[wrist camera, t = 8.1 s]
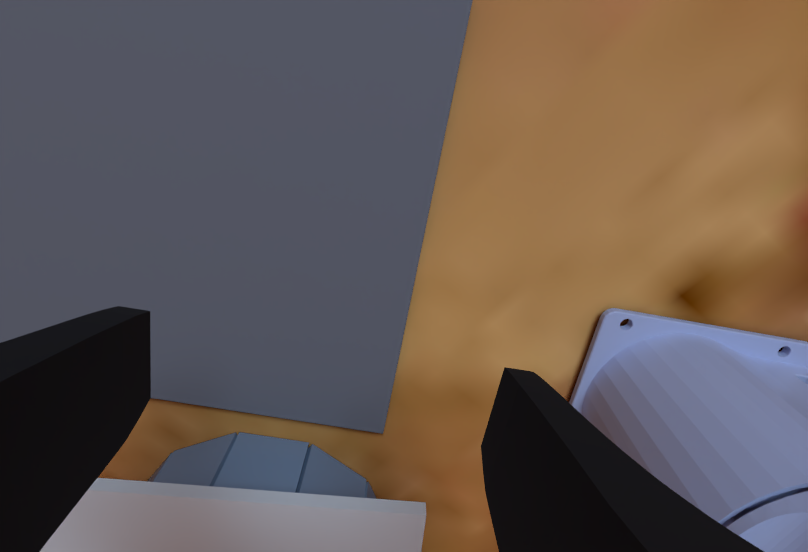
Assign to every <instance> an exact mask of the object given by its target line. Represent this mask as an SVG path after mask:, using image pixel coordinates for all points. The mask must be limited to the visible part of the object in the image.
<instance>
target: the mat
mask: <svg viewBox="0 0 808 552" xmlns="http://www.w3.org/2000/svg"><path fill="white" fill-rule="evenodd" d="M471 5H472V0H0V343H1V342H4V341H8V340H11V339H14V338H17V337H20V336H23V335H26V334H29V333H32V332H35V331H38V330H41V329H44V328H47V327H50V326H53V325H56V324H59V323H62V322H65V321H68V320H71V319H74V318H77V317H80V316H84V315H87V314H90V313H93V312H97V311H100V310H104V309H108V308H112V307H117V306H122V307H128V308H134V309H140V310H147V311H150V355H151V398H155V399H161V400H168V401H174V402H181V403H187V404H194V405H200V406H207V407H213V408H220V409H226V410H233V411H239V412H246V413H252V414H259V415H265V416H272V417H278V418H285V419H291V420H298V421H304V422H311V423H317V424H324V425H330V426H337V427H343V428H350V429H356V430H363V431H369V432H376V433H382V434H383V431H384V427H385V422H386V417H387V412H388V407H389V402H390V397H391V393H392V388H393V383H394V378H395V373H396V368H397V363H398V359H399V354H400V349H401V344H402V339H403V334H404V330H405V325H406V320H407V315H408V310H409V305H410V300H411V296H412V291H413V286H414V281H415V276H416V271H417V267H418V262H419V257H420V252H421V247H422V242H423V237H424V233H425V228H426V223H427V218H428V213H429V208H430V203H431V199H432V194H433V189H434V184H435V179H436V174H437V170H438V165H439V160H440V155H441V150H442V145H443V140H444V136H445V131H446V126H447V121H448V116H449V111H450V106H451V102H452V97H453V92H454V87H455V82H456V77H457V73H458V68H459V63H460V58H461V53H462V48H463V43H464V39H465V34H466V29H467V24H468V19H469V14H470V10H471Z"/></svg>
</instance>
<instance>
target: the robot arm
mask: <svg viewBox="0 0 808 552" xmlns="http://www.w3.org/2000/svg"><path fill="white" fill-rule="evenodd" d="M624 319H629V321H628V323H627V324H626V325H624V326H620V323H621V322H622V321H623V320H624ZM782 347H784V348H783V349H782V351H780V352H778V351H779V349H780V348H782ZM150 398H151V355H150V311H147V310H140V309H134V308H128V307H122V306H117V307H112V308H108V309H104V310H100V311H97V312H93V313H90V314H87V315H84V316H80V317H77V318H74V319H71V320H68V321H65V322H62V323H59V324H56V325H53V326H50V327H47V328H44V329H41V330H38V331H35V332H32V333H29V334H26V335H23V336H20V337H17V338H14V339H11V340H8V341H4V342H1V343H0V552H40V551H41V549H42V548H43V546H44V545H45V544H46V543H47V541H48V540H49V539H50V537H51V536H52V535H53V534H54V532H55V531H56V530H57V529H58V527H59V526H60V525H61V523H62V522H63V521H64V520H65V518H66V517H67V516H68V515H69V513H70V512H71V511H72V509H73V508H74V507H75V506H76V504H77V503H78V502H79V501H80V499H81V498H82V497H83V495H84V494H85V493H86V492H87V490H88V489H89V488H90V486H91V485H92V484H93V483H94V481H95V480H96V479H97V478H98V476H99V475H100V474H101V472H102V471H103V470H104V469H105V467H106V466H107V465H108V463H109V462H110V461H111V459H112V458H113V457H114V456H115V454H116V453H117V452H118V450H119V449H120V448H121V446H122V445H123V444H124V442H125V441H126V439H127V438H128V436H129V434H130V433H131V431H132V429H133V428H134V426H135V424H136V423H137V421H138V419H139V418H140V416H141V414H142V412H143V410H144V409H145V407H146V405H147V403H148V401H149V400H150ZM481 451H482V463H483V474H484V483H485V492H486V496H487V501H488V506H489V510H490V514H491V519H492V523H493V528H494V532H495V536H496V540H497V545H498V549H499V552H808V342H806V341H801V340H795V339H789V338H783V337H778V336H772V335H766V334H760V333H755V332H749V331H743V330H737V329H732V328H726V327H720V326H714V325H709V324H703V323H697V322H692V321H686V320H680V319H674V318H669V317H663V316H657V315H651V314H646V313H640V312H634V311H628V310H623V309H617V308H610V309H608V310H606V311H604V312H603V313H602V315H601V316H600V319H599V322H598V324H597V327H596V330H595V333H594V335H593V338H592V341H591V344H590V346H589V349H588V352H587V355H586V357H585V360H584V363H583V366H582V368H581V371H580V374H579V377H578V379H577V382H576V385H575V388H574V390H573V393H572V396H571V399H570V401H569V402H567V401H566V400H565V399H564V398H563V397H562V396H561V395H560V394H559V393H558V392H557V391H555V390H554V389H553V388H552V387H551V386H550V385H549V384H548V383H547V382H545V381H544V380H543V379H542V378H541V377H539V376H538V375H537V374H535V373H534V372H531V371H524V370H518V369H512V368H504V371H503V375H502V378H501V381H500V385H499V388H498V391H497V395H496V398H495V401H494V405H493V408H492V411H491V415H490V418H489V421H488V425H487V428H486V431H485V435H484V438H483V441H482V445H481Z"/></svg>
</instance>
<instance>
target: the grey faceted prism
mask: <svg viewBox="0 0 808 552" xmlns="http://www.w3.org/2000/svg"><path fill="white" fill-rule="evenodd" d="M308 446H309V443H307V442H301V441H294V440H288V439H281V438H274V437H268V436H261V435H255V434H248V433H241V432H239V434H238V435H237V434H236V433H232V434H229V435H226V436H222V437H219V438H216V439H212V440H209V441H206V442H202V443H199V444H196V445H192V446H189V447H186V448H182V449H179V450H176V451H174V452H173V453H171V454H170V455H169V456H168V457H167V459H166V460H165V461H164V462H163V463H162V464H161V466H160V467H159V468H158V469H157V470H156V471H155V473H154V474H153V475H152V476H151V477H150V479H149V480H148V481H147V482H160V483H173V484H186V485H200V486H213V487H226V488H240V489H253V490H266V491H279V492H293V493H306V494H319V495H332V496H346V497H359V498H372V499H376V496H375V494H374V492H373V490H372V488H371V486H370V484H369V482H366V479H365V478H363V477H362V476H360V475H359V474H357V473H356V472H354V471H353V470H351V469H350V468H348V467H347V466H345V465H344V464H342V463H340V462H339V461H337V460H336V459H334V458H333V457H331V456H330V455H328V454H327V453H325V452H324V451H322V450H321V449H319V448H318V447H316V446H315V445H313V444H312V445H311V446H310V447H309V448H308Z"/></svg>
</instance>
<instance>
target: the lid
mask: <svg viewBox="0 0 808 552" xmlns="http://www.w3.org/2000/svg"><path fill="white" fill-rule="evenodd" d="M425 520H426V503H425V502H412V501H399V500H386V499H372V498H359V497H346V496H332V495H319V494H306V493H293V492H279V491H266V490H253V489H240V488H226V487H213V486H200V485H186V484H173V483H160V482H147V481H133V480H120V479H107V478H97V479H96V480H95V481H94V483H93V484H92V485H91V486H90V488H89V489H88V490H87V492H86V493H85V494H84V495H83V497H82V498H81V499H80V501H79V502H78V503H77V504H76V506H75V507H74V508H73V509H72V511H71V512H70V513H69V515H68V516H67V517H66V518H65V520H64V521H63V522H62V523H61V525H60V526H59V527H58V529H57V530H56V531H55V532H54V534H53V535H52V536H51V537H50V539H49V540H48V541H47V543H46V544H45V545H44V546H43V548H42V549H41V551H40V552H421V548H422V541H423V534H424V527H425Z"/></svg>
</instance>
